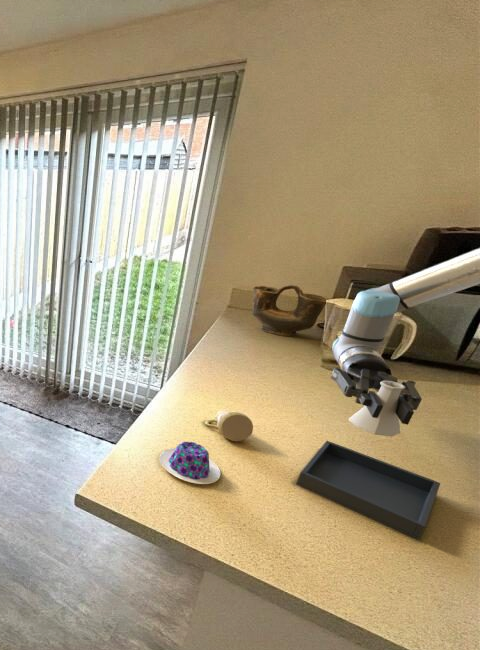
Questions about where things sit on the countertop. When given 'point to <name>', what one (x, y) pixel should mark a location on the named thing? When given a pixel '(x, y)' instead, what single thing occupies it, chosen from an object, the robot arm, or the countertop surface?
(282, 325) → the pottery vessel
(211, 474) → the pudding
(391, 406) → the flask
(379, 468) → the tray
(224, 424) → the mug
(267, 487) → the countertop surface
